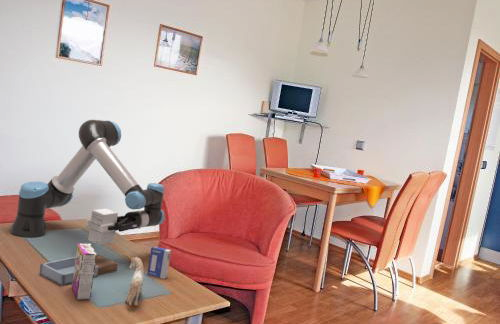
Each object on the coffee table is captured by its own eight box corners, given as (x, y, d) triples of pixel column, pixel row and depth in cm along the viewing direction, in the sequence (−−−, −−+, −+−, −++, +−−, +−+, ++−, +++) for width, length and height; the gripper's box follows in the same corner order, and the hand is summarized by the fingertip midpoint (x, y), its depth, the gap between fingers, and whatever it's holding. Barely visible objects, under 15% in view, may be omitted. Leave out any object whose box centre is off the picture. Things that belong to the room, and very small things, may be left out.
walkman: (146, 274, 187) (151, 246, 186) (149, 272, 190) (154, 245, 188) (164, 279, 185) (169, 251, 184) (167, 277, 188) (171, 249, 187)
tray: (39, 274, 169) (40, 263, 168) (75, 265, 183) (76, 256, 182) (61, 285, 162) (63, 275, 162) (97, 276, 176) (98, 266, 176)
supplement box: (101, 237, 188) (106, 208, 187) (114, 242, 184) (118, 212, 183) (87, 240, 182) (91, 209, 181) (99, 245, 178) (104, 214, 177)
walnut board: (77, 265, 183) (78, 258, 182) (96, 261, 191) (97, 254, 191) (97, 275, 177) (98, 268, 176) (116, 270, 185) (117, 263, 185)
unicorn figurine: (138, 287, 173) (143, 253, 172) (148, 310, 156) (154, 273, 154) (119, 286, 170) (124, 252, 169) (126, 310, 153) (132, 272, 151)
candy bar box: (70, 286, 163) (77, 243, 161) (85, 286, 165) (91, 243, 164) (75, 300, 153) (82, 253, 152) (90, 299, 156) (97, 253, 154)
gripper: (151, 234, 193) (109, 242, 173) (118, 222, 203) (75, 228, 184) (154, 217, 192) (112, 223, 173) (120, 205, 203) (78, 210, 183)
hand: (93, 226), depth 178 cm, fingers closed on supplement box, 7 cm apart
